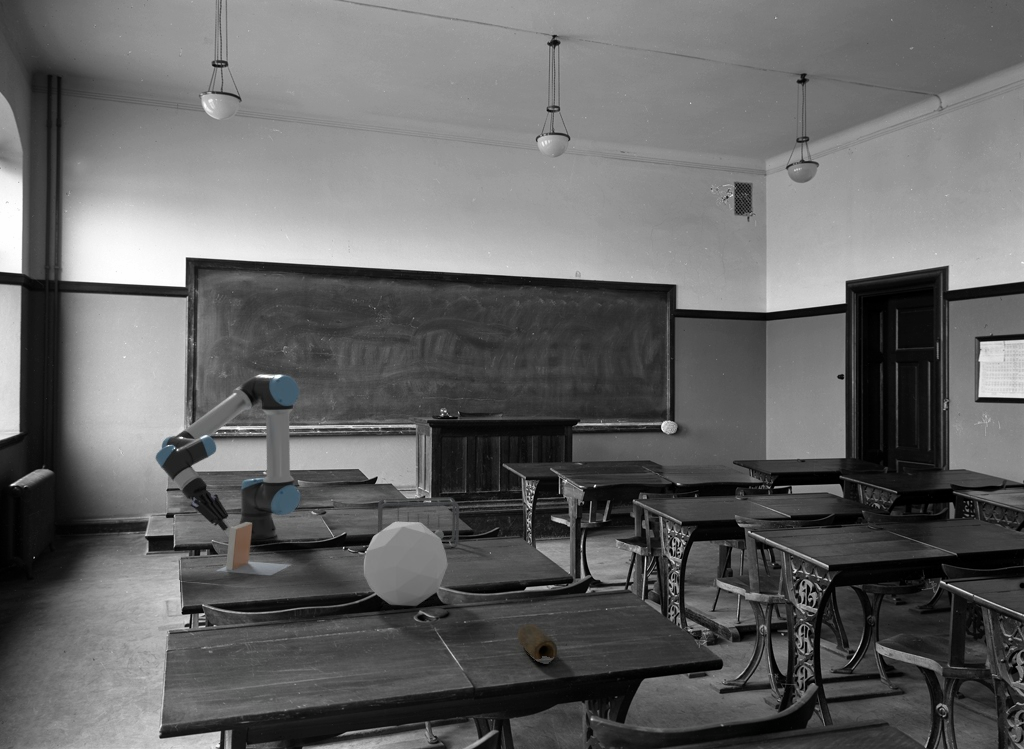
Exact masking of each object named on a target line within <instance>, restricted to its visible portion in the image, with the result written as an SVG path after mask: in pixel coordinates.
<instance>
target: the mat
mask: <svg viewBox="0 0 1024 749" xmlns="http://www.w3.org/2000/svg"><path fill="white" fill-rule="evenodd" d="M291 566H292V564H285V563H283V564H282V563H272V562H261V561H260V562H259V561H258V562H257V561H249V562H248V563H247V564H245V565H243V566H240V567H238V568H236V569H234V570H227V569H226V566H223V567H221V568H218V569H217V570H215V572H221V573H223V572H225V573H236V574H246V575H247V574H250V575H260V576H261V575H262V576H270V577H271V576H273V575H275V574H277V573H279V572H281V571H282V570H285V569H287V568H289V567H291Z"/></svg>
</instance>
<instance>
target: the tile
mask: <svg viewBox="0 0 1024 749" xmlns="http://www.w3.org/2000/svg"><path fill="white" fill-rule="evenodd" d="M232 526H233V525H232ZM251 532H252V523H250V522H245V523H242V524H239V523H238V524H237V525H234V526H233V527H231V528H230V533H229V537H228V545H227V556H226V562H225V563H226V565H225V567H226V569H227V570H234V569H236V568H238V567H240V566H243V565H245V564H247V563H248V562H250V550H251V543H252V542H251V541H252V540H251Z"/></svg>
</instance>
